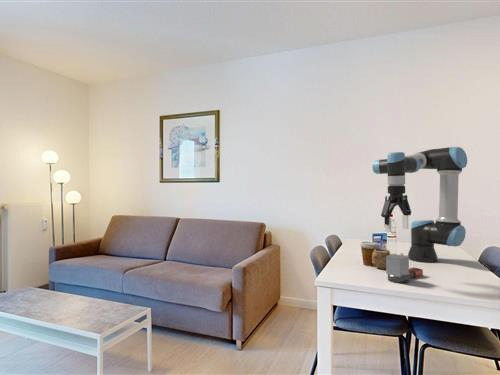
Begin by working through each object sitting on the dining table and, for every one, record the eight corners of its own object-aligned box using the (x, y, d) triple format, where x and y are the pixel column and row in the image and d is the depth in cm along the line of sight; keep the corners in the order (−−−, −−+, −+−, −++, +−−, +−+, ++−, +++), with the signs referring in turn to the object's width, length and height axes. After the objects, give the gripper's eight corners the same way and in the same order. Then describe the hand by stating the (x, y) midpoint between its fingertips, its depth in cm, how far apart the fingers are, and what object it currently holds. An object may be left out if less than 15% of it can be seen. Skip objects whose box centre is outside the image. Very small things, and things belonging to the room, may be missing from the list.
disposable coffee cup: (357, 264, 166) (357, 243, 166) (364, 261, 173) (364, 240, 173) (374, 268, 160) (374, 245, 160) (381, 264, 167) (381, 242, 167)
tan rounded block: (407, 272, 151) (407, 252, 151) (373, 270, 156) (373, 251, 156) (404, 267, 160) (403, 249, 160) (371, 265, 164) (371, 247, 164)
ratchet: (409, 272, 151) (409, 254, 151) (427, 277, 143) (427, 258, 143) (383, 279, 141) (383, 260, 141) (401, 284, 133) (401, 264, 133)
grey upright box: (395, 271, 143) (395, 254, 143) (408, 274, 137) (408, 257, 137) (386, 273, 140) (386, 256, 140) (400, 277, 134) (399, 259, 134)
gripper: (404, 184, 151) (404, 226, 151) (372, 185, 138) (373, 231, 138) (419, 184, 145) (419, 228, 145) (387, 185, 132) (388, 234, 132)
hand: (396, 230), depth 142 cm, fingers open, 13 cm apart
